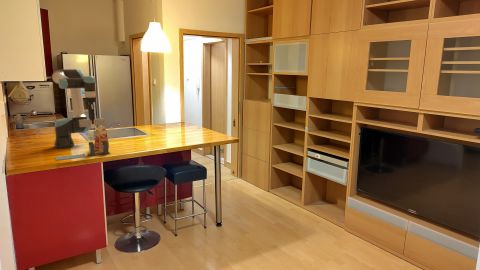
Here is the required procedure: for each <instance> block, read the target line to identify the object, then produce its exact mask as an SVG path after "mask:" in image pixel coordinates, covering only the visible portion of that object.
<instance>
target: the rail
mask: <svg viewBox="0 0 480 270" xmlns="http://www.w3.org/2000/svg"><path fill="white" fill-rule="evenodd" d="M94 120H95V127H99V126H106V118H105V117H103V118H101V117H100V118H95V119H94ZM88 126H91V121H90V119H89V118H88V119H84V120H79V127H88Z"/></svg>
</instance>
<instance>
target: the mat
mask: <svg viewBox="0 0 480 270" xmlns="http://www.w3.org/2000/svg"><path fill="white" fill-rule="evenodd" d="M81 157H82V158H87V156H86V154H85V153H81V154H72V155H65V156H64V155H63V156H62V155H61V156H56V157H55V161H64V159H65V160H71V159H72V160H73V159H80V158H81Z"/></svg>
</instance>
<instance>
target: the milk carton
mask: <svg viewBox="0 0 480 270" xmlns="http://www.w3.org/2000/svg"><path fill="white" fill-rule="evenodd" d="M94 136H95V137H94V148H95V151H103V143H102V141H107V142H108V150H109V149H110V142H109V136H108V132H107V129H106V128H105V127H104V126H103V125H101V126H97V127H95V135H94Z"/></svg>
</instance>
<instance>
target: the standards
mask: <svg viewBox="0 0 480 270" xmlns="http://www.w3.org/2000/svg"><path fill="white" fill-rule="evenodd" d="M102 143H103V150H102V151H97V152H96V150H95V148H94V144H95V142H93V141H89V142H88V151H89V152H88V153H87V155H88V156H89V157H96V156H104V155H105V156H106V155H111V152H110V151H109V149H108V142H107V141H102Z"/></svg>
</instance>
